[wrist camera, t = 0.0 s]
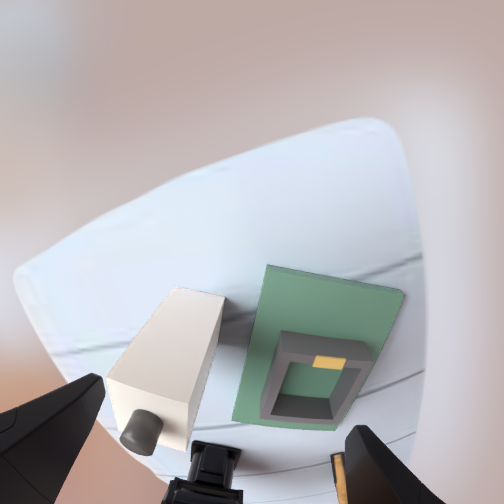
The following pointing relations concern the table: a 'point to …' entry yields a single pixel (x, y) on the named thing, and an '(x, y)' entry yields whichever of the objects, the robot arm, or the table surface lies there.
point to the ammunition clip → (339, 476)
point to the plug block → (166, 372)
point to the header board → (311, 348)
